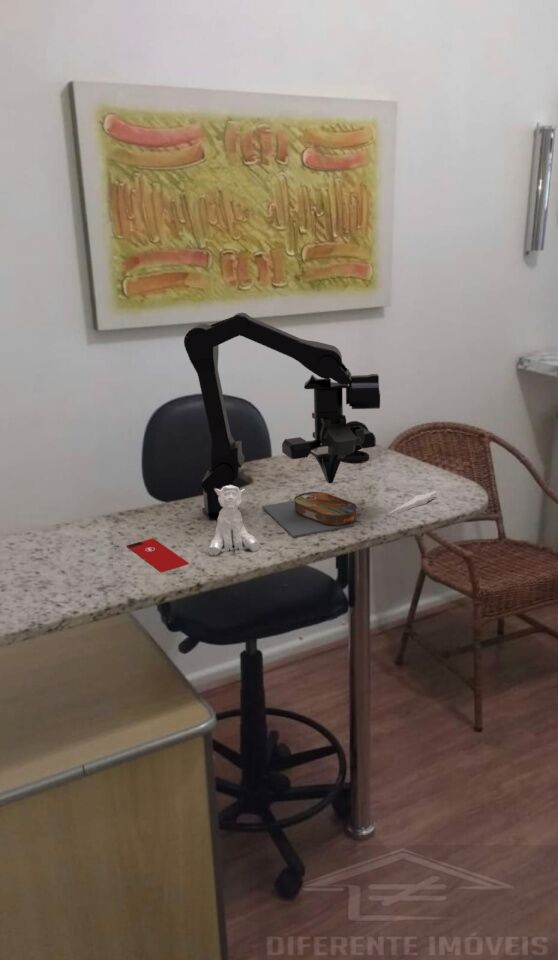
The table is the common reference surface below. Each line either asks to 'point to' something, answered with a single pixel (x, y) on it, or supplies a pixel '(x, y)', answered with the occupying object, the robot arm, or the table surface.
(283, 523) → the mat
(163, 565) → the electronic device
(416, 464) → the table surface
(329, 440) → the robot arm
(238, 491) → the white creature statuette
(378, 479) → the table surface
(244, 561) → the table surface
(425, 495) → the white tapered figurine
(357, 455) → the webcam
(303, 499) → the tin
